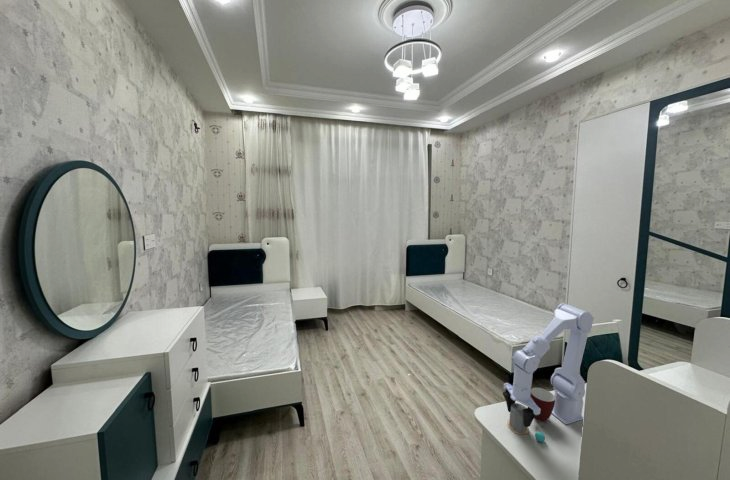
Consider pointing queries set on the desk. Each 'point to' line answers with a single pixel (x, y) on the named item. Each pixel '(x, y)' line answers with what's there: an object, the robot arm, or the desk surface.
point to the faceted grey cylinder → (517, 417)
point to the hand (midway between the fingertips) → (518, 418)
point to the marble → (540, 436)
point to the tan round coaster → (517, 431)
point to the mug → (543, 403)
